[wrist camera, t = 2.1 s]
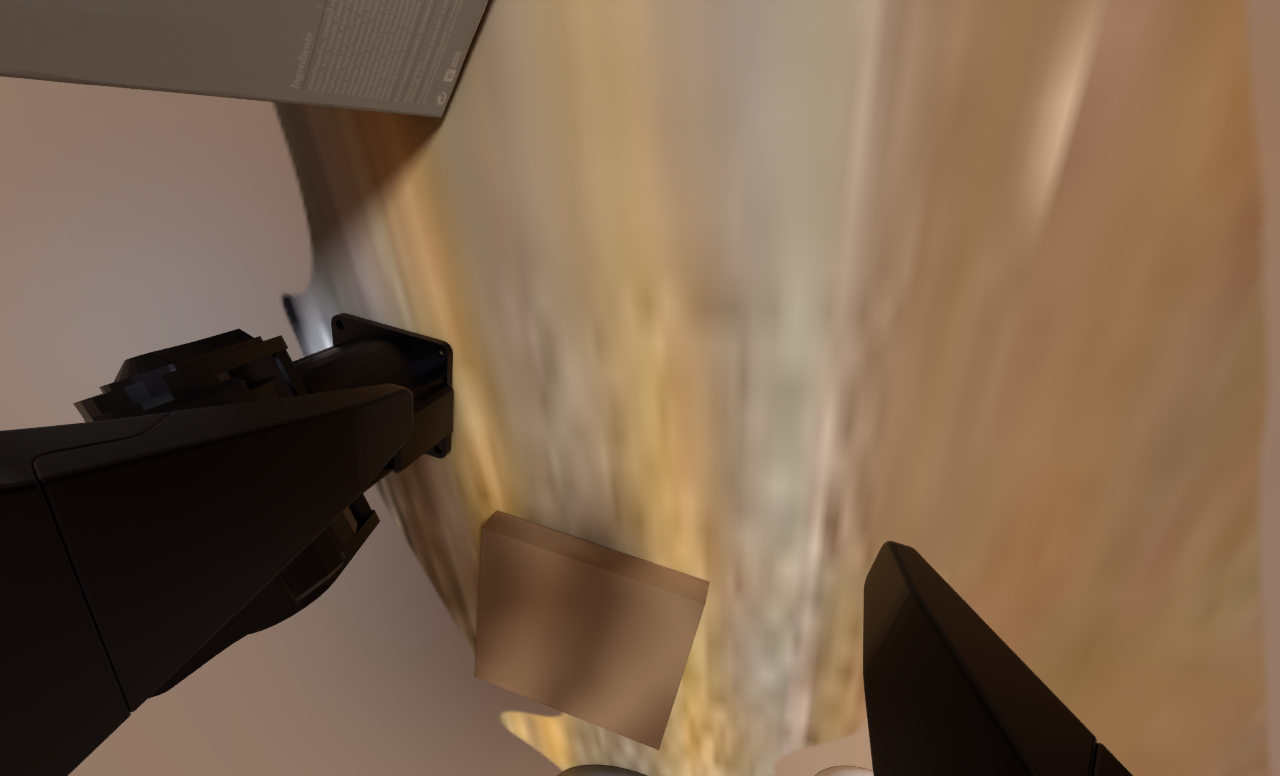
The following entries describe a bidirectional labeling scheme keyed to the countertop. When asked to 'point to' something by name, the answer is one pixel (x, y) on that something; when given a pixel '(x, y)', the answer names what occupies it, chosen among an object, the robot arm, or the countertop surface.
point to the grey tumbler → (845, 771)
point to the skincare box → (249, 48)
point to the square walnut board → (584, 627)
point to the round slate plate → (598, 771)
